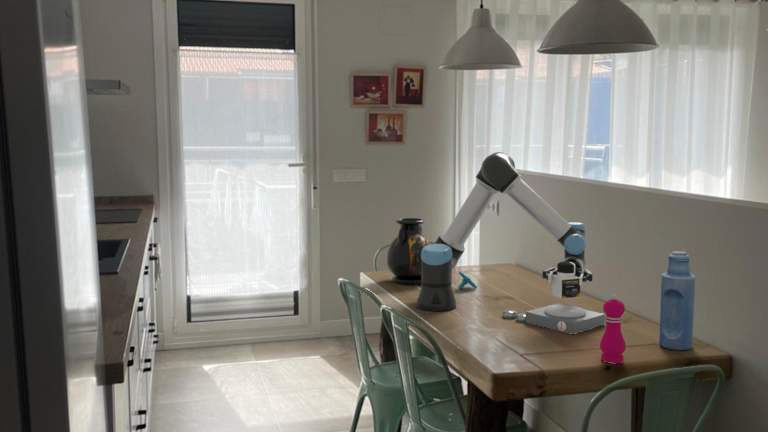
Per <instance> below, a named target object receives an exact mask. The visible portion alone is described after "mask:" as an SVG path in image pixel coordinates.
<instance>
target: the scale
mask: <svg viewBox="0 0 768 432" xmlns="http://www.w3.org/2000/svg"><path fill="white" fill-rule="evenodd" d="M525 314H526V322H525V323H526V324H529V325H532V326H533V325H534V326H536V325H537V327H540V326H542V327H541V328H544V327H546V328H545V329H548V328H550V329H549V330H552V329H554V330H553V331H555V330H557V332H559V331H562V332H561V333H563V332H567V333H572V334H574V333H577V332H580V331H584V330H587V329H590V328H593V327H596V326H600V325H604V324H605V325H606V321H605V315H606V314H605V313H601V312H597V311H594V310H589V309H584V308H583V307H579V306H576V305H568V304H562V303H559V302H558V303H553V304H551V305H545V306H542V307H539V308H538V307H537V308H535V309H530V310H526V311H525ZM605 325H604V326H605ZM567 333H566V334H567Z"/></svg>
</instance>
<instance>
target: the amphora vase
mask: <svg viewBox="0 0 768 432" xmlns="http://www.w3.org/2000/svg"><path fill="white" fill-rule="evenodd" d="M425 222H426V220H424V219H422V218H417V217H416V218H415V217H414V218H413V217H408V218H407V217H405V218H404V217H402V218H398V219H396V220H395V223H396V224H398V225H399V226H400V228H399V229H398V234H397V235H396V237H395V238H394V239H393V240H392V241H391V243H390V244H389V246H388V248H387V253H386V256H385V258H386V261H385V262H386V265H387V268H388V269H389V271H390V272H391V273H392V274H393V276H392V277H391V280H392V281H393V282H394V283H396V284H398V285H406V286H414V285H415V286H416V285H421V253H422V249H423V247H425V246H427V245H431V244H432V243H430V241H429V240H428V239H427V238H426V237H425V236H424V234H423V233H422V232H423V230H422V225H423V224H424V223H425Z"/></svg>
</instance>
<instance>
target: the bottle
mask: <svg viewBox="0 0 768 432" xmlns="http://www.w3.org/2000/svg"><path fill="white" fill-rule="evenodd" d="M690 260H691V257H690V255H689V254H687V252H686V251H682V250H681V251H680V250H675V251H674V250H673V251H672V252H671V253H670V254H668V265H667V272H666V271H665V272H663V273H662V274H661V282H660V283H661V284H660V287H661V288H660V312H659V314H660V315H659V317H660V319H659V339H658V340H659V341H658V343H659V345H660V347H662V348H664V349H667V350H669V351H670V350H671V351H678V350H679V351H682V352H683V350H685V351H688V350H691V349H692V348H693V332H694V331H693V328H694V316H695V315H694V311H695V294H696V275H694V274H693V273H691V270H690ZM679 351H678V352H679Z"/></svg>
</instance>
